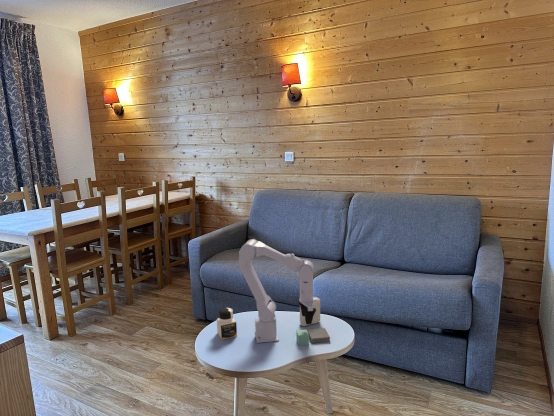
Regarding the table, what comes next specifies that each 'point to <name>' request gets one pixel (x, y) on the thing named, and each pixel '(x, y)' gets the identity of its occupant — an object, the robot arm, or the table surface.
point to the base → (318, 335)
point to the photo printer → (316, 316)
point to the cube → (302, 337)
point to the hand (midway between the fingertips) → (306, 319)
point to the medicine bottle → (226, 324)
